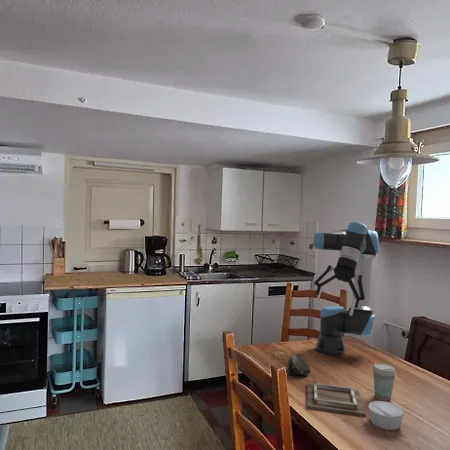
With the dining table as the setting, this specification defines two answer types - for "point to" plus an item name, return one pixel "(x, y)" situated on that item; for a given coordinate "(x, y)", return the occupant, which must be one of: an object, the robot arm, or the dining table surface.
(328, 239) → the robot arm
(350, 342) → the dining table surface
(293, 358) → the fossil
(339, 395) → the locating board
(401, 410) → the ramekin
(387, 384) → the coffee cup
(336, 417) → the dining table surface
